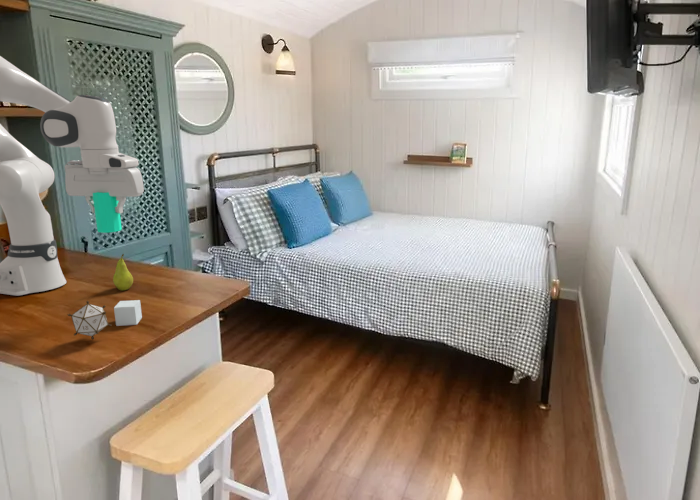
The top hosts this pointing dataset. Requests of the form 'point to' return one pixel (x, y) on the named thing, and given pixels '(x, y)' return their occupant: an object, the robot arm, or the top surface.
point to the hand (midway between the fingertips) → (107, 213)
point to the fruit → (122, 276)
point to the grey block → (128, 312)
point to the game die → (89, 320)
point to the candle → (106, 213)
